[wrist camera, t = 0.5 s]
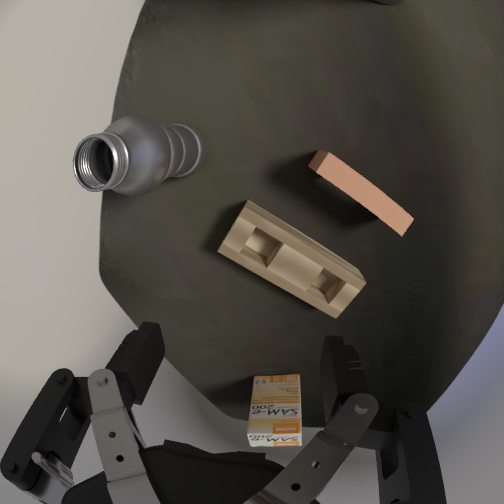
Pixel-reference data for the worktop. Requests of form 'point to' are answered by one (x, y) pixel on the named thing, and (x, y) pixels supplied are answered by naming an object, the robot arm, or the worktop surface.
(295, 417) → the supplement box
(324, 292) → the rail
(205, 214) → the worktop surface
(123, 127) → the metal bottle
